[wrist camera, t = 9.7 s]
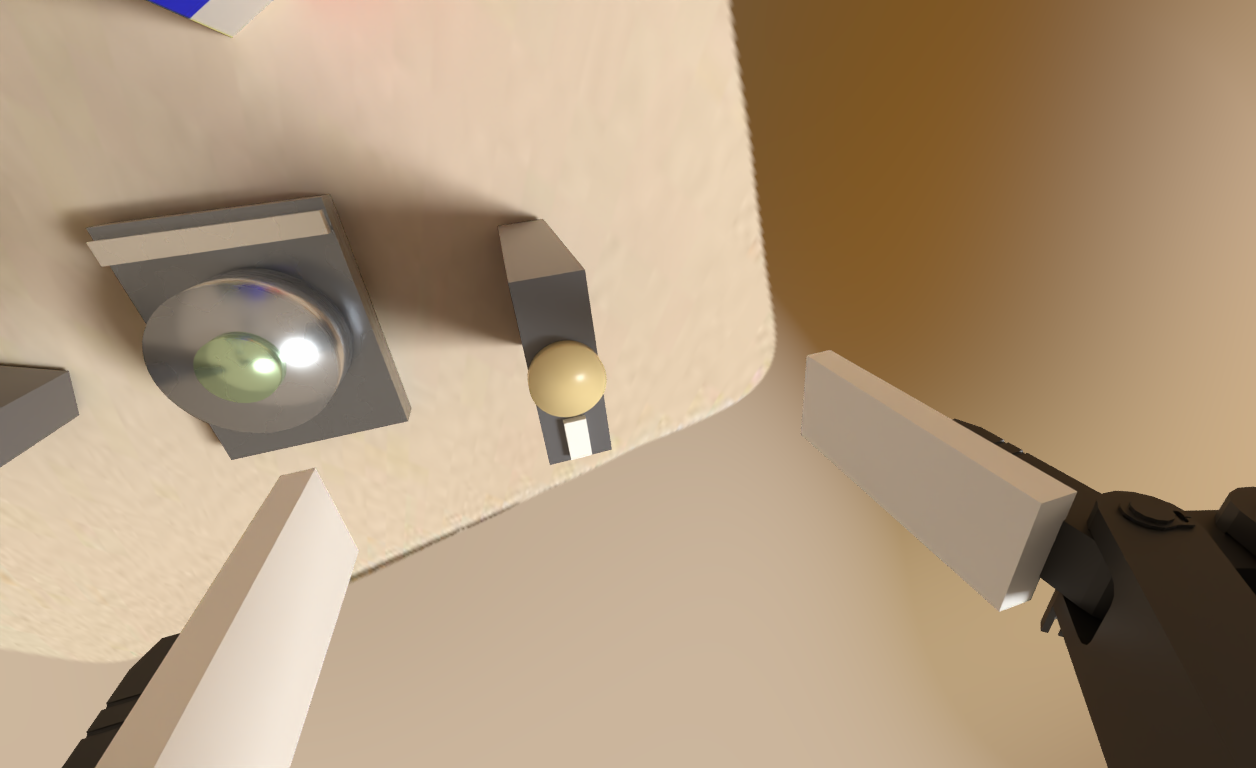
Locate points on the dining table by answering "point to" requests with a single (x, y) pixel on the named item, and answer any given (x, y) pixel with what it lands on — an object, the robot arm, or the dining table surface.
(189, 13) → the puzzle toy
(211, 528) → the dining table surface
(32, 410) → the dark grey flat block
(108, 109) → the dining table surface
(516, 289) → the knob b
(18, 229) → the dining table surface
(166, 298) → the levelling plate
